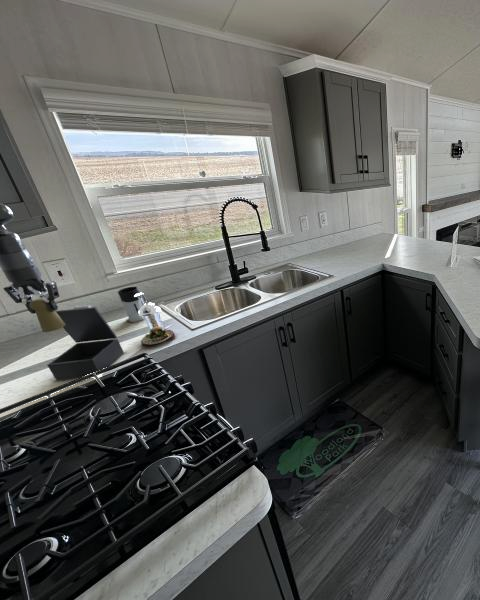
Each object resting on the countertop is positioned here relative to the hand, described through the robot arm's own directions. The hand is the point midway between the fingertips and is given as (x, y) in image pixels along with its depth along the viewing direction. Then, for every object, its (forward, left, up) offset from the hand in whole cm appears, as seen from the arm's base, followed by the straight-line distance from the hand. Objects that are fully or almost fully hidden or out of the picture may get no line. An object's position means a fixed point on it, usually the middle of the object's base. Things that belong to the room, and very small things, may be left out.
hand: (45, 311), depth 113 cm
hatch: (+8, -3, -11) cm, 14 cm away
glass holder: (+43, -1, -26) cm, 50 cm away
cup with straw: (+27, -15, -26) cm, 40 cm away
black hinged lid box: (+3, -3, -25) cm, 26 cm away
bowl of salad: (+18, -20, -26) cm, 37 cm away
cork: (0, 0, -7) cm, 7 cm away
